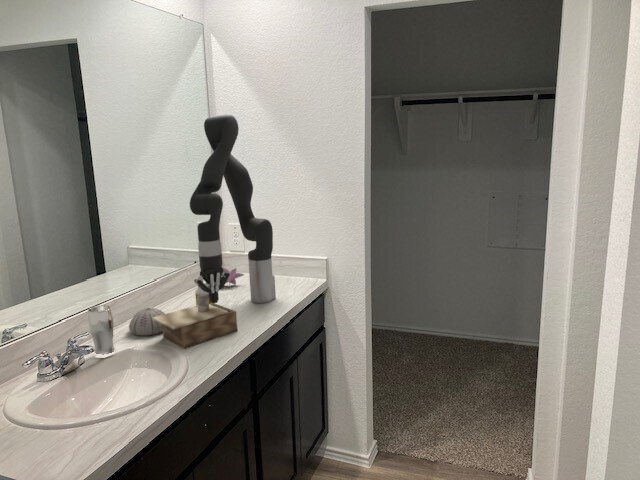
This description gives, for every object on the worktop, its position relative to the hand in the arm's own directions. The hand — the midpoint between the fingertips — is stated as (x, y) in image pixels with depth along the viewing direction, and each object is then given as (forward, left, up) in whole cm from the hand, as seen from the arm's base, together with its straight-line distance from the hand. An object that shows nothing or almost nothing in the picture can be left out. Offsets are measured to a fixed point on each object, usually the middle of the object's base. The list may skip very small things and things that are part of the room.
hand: (214, 302), depth 174 cm
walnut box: (+6, 0, -10) cm, 11 cm away
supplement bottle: (-6, -16, -10) cm, 20 cm away
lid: (+9, 0, -2) cm, 10 cm away
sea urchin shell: (+16, -17, -10) cm, 25 cm away
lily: (-33, -40, -10) cm, 53 cm away
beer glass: (+35, -8, -10) cm, 37 cm away
